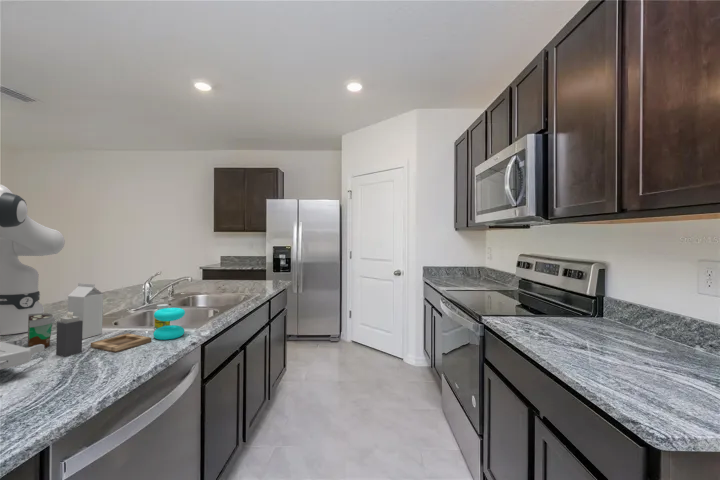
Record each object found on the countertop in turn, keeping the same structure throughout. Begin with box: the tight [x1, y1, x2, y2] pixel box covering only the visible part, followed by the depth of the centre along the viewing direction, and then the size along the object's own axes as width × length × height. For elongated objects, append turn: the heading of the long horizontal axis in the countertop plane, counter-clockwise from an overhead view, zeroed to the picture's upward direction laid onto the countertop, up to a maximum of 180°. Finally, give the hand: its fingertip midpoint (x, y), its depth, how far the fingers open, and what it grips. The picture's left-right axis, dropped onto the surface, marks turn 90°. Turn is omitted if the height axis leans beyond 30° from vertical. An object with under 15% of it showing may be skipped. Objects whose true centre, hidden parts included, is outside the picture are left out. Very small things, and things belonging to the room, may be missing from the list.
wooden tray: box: [90, 332, 152, 354], centre depth 110 cm, size 12×12×2 cm
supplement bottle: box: [153, 303, 171, 331], centre depth 130 cm, size 5×5×10 cm
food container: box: [27, 312, 56, 349], centre depth 107 cm, size 12×6×10 cm, turn 47°
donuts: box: [152, 307, 186, 341], centre depth 121 cm, size 10×10×10 cm
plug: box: [55, 311, 83, 357], centre depth 101 cm, size 4×4×13 cm
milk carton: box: [67, 282, 104, 340], centre depth 118 cm, size 7×7×19 cm
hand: (32, 344), depth 93 cm, fingers open, 8 cm apart
